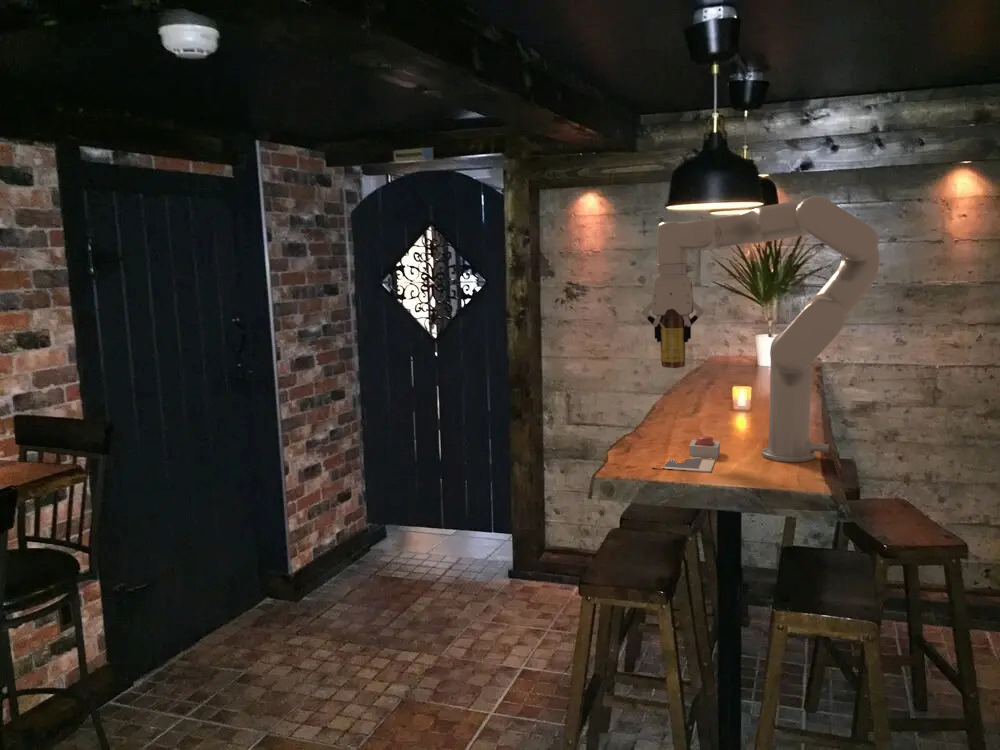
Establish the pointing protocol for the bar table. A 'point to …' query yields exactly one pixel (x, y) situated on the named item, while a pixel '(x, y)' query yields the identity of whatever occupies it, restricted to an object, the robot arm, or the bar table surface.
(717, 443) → the button housing
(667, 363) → the sauce bottle
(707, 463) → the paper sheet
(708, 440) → the button
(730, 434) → the bar table surface
